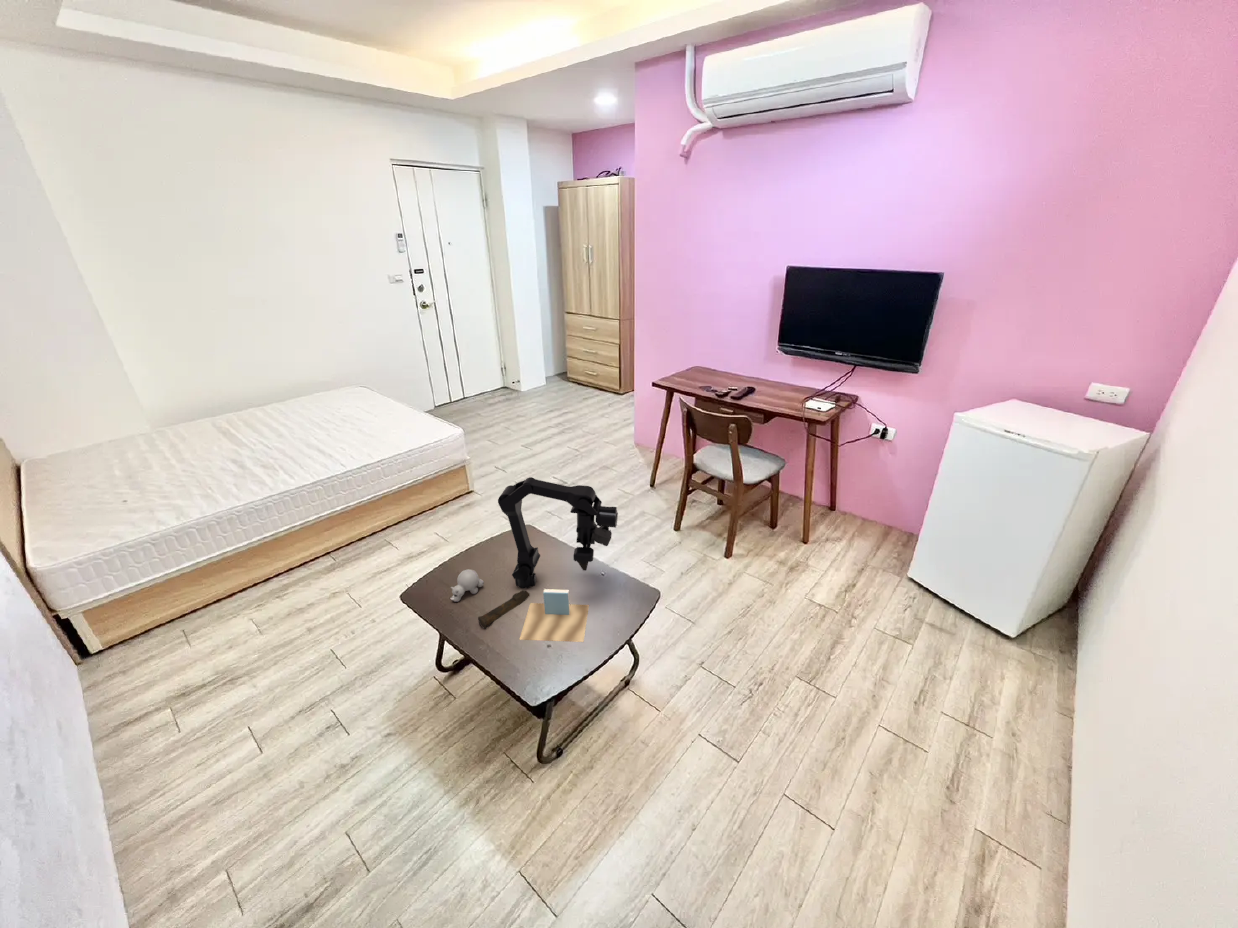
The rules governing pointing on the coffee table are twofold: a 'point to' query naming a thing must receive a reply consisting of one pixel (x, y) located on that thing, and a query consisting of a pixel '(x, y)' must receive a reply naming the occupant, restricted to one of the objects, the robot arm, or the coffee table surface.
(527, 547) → the robot arm
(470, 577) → the chubby cartoon animal
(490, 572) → the coffee table surface
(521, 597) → the hand tool
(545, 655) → the coffee table surface
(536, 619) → the board
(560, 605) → the tile
